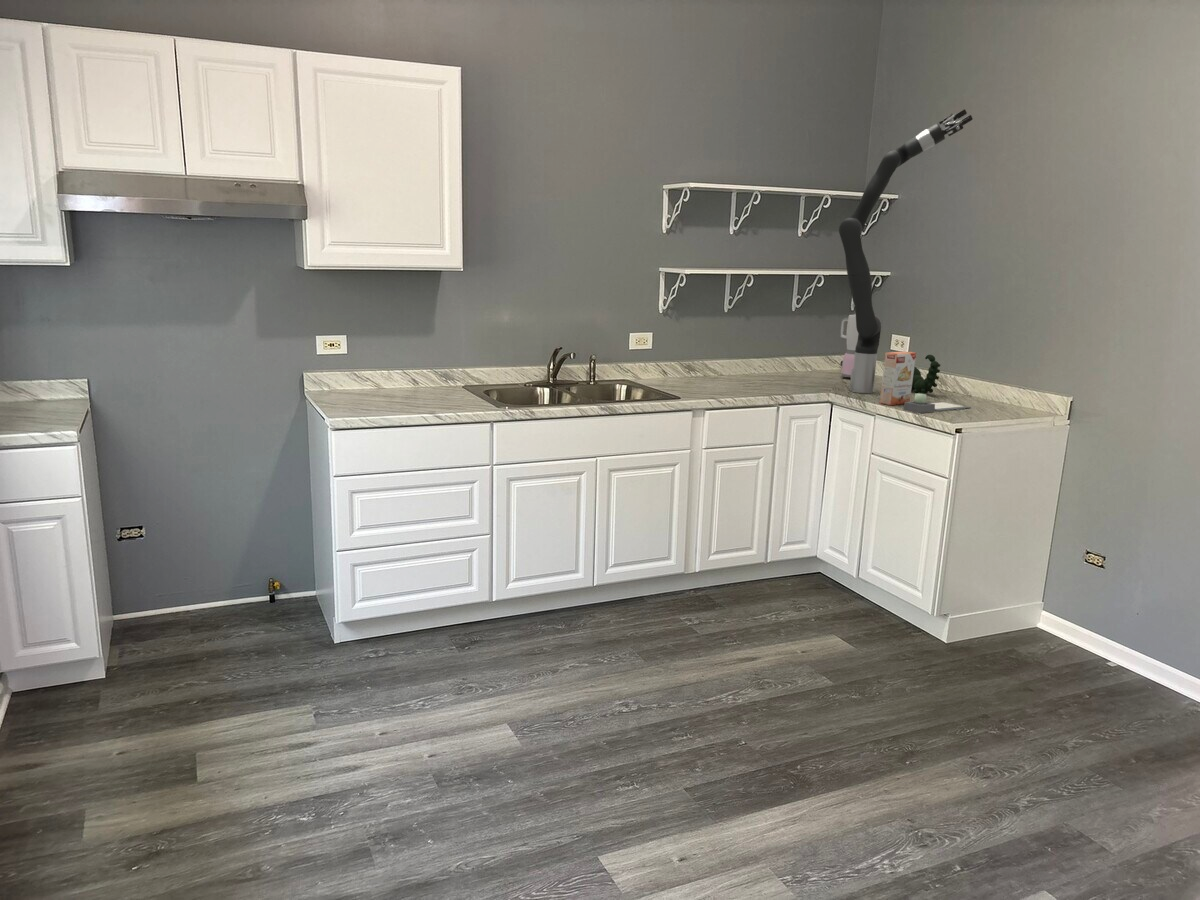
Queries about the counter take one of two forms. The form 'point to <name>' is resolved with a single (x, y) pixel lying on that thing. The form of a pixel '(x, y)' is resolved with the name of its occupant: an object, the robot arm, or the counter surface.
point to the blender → (849, 345)
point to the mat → (947, 406)
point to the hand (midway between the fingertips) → (968, 113)
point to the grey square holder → (919, 407)
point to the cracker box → (897, 377)
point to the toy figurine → (929, 381)
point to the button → (920, 399)
